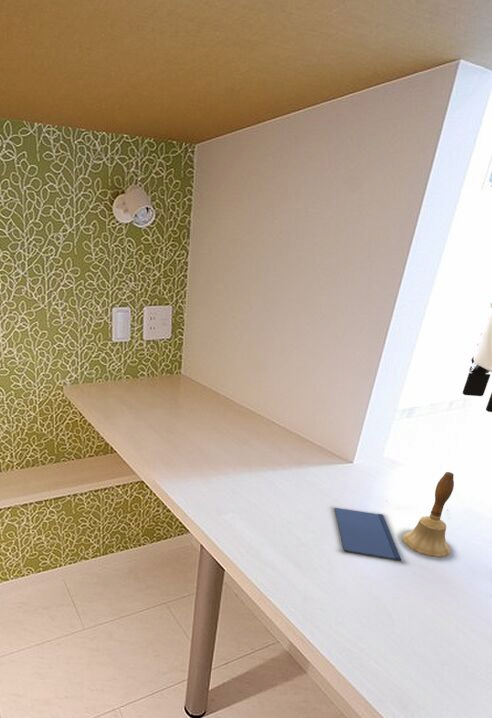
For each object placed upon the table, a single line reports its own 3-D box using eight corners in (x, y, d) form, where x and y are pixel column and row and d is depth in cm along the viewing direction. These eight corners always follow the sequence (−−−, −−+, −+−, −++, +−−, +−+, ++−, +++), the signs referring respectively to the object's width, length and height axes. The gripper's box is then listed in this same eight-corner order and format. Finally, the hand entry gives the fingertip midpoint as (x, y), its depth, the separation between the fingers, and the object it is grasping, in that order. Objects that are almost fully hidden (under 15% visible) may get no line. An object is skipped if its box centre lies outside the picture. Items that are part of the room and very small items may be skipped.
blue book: (382, 516, 96) (383, 514, 96) (400, 560, 82) (401, 558, 82) (334, 508, 98) (335, 507, 98) (344, 551, 84) (344, 549, 84)
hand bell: (399, 547, 86) (423, 476, 79) (404, 528, 92) (427, 460, 85) (449, 563, 81) (478, 489, 75) (451, 541, 88) (478, 471, 81)
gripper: (585, 305, 60) (536, 422, 67) (520, 295, 75) (486, 391, 82) (521, 303, 61) (480, 417, 69) (471, 294, 77) (442, 388, 84)
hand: (483, 403), depth 76 cm, fingers open, 9 cm apart
